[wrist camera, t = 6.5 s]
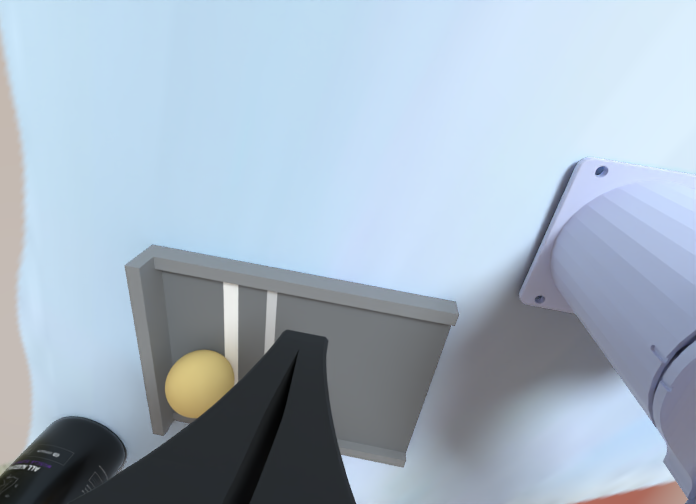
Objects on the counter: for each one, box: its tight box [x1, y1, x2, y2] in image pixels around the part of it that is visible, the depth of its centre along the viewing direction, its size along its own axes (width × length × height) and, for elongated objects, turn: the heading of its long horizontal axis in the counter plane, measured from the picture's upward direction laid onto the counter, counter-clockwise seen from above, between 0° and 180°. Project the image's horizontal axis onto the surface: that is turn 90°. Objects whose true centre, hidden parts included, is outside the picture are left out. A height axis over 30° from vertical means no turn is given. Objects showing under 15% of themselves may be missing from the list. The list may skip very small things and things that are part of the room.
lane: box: [125, 245, 459, 467], centre depth 23 cm, size 18×14×2 cm
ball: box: [165, 350, 235, 418], centre depth 23 cm, size 4×4×4 cm
